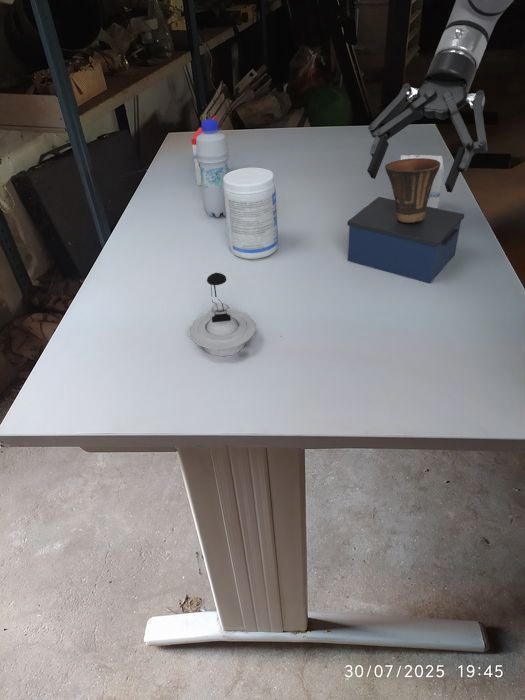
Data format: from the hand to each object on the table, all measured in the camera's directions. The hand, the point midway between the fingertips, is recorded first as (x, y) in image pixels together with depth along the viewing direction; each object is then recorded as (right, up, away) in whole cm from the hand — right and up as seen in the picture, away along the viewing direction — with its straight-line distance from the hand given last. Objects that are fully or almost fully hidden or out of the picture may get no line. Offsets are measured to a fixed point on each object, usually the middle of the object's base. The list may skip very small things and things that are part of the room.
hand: (408, 181), depth 90 cm
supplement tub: (-26, -9, +16) cm, 32 cm away
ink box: (+8, 0, +24) cm, 25 cm away
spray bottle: (-38, +15, +47) cm, 62 cm away
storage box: (+1, -11, +10) cm, 15 cm away
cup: (+1, -5, +5) cm, 7 cm away
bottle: (-34, +2, +30) cm, 46 cm away
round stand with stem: (-30, -27, -8) cm, 41 cm away
